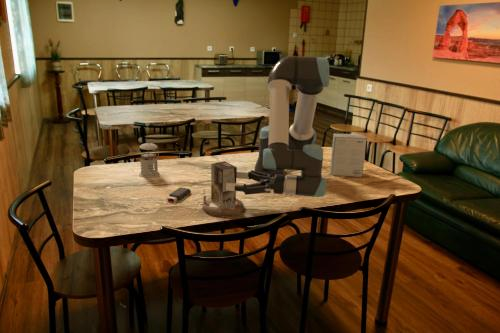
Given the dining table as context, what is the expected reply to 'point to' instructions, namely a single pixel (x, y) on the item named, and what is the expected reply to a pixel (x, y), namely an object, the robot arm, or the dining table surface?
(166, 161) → the dining table surface
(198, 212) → the dining table surface
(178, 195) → the usb drive
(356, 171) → the hard drive box
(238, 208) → the pin nest
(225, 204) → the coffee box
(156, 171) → the french press
